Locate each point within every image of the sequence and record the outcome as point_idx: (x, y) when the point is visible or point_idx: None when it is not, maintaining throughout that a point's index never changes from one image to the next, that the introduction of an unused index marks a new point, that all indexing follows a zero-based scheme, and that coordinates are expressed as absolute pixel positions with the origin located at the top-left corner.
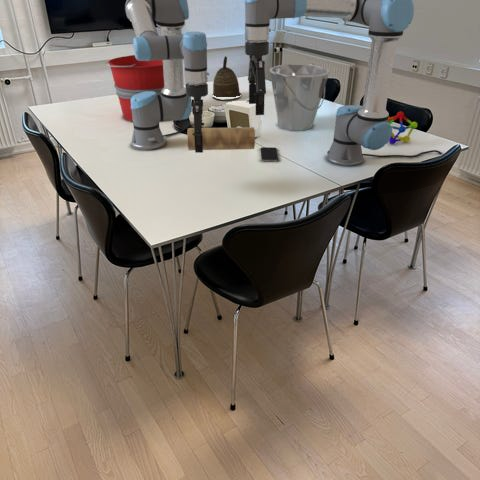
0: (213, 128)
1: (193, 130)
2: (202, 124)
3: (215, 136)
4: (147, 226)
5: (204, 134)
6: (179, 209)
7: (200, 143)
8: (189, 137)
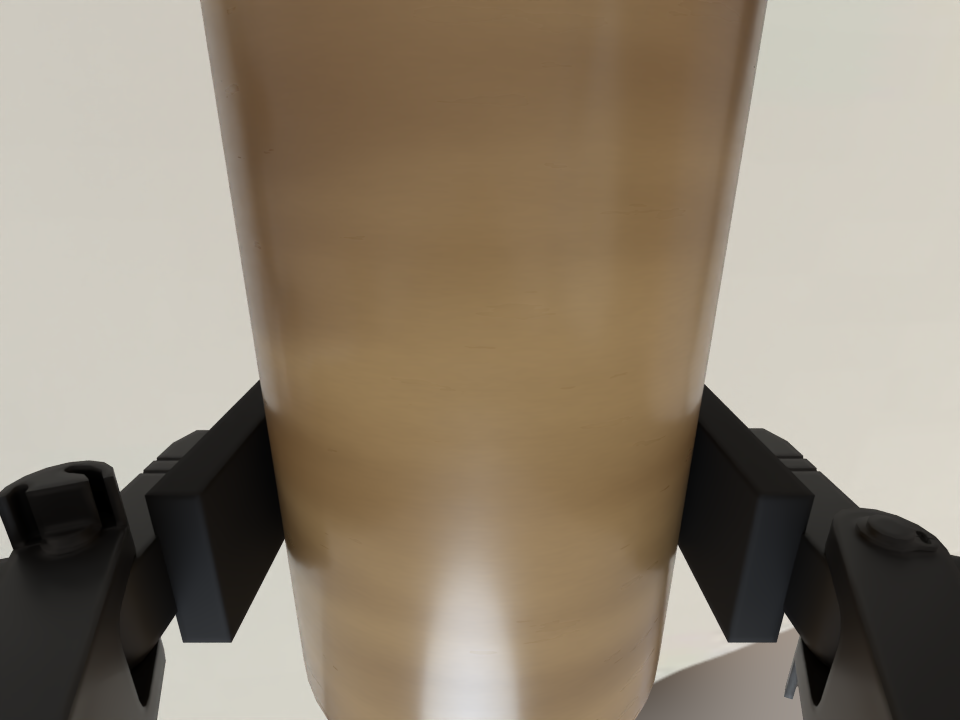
0: (488, 196)
1: (566, 686)
2: (98, 518)
3: (741, 136)
4: (943, 536)
5: (676, 427)
6: (799, 397)
7: (783, 441)
8: (659, 653)
